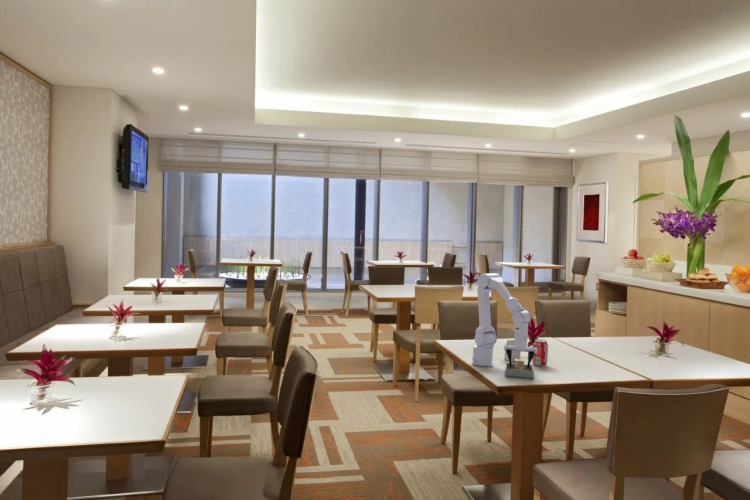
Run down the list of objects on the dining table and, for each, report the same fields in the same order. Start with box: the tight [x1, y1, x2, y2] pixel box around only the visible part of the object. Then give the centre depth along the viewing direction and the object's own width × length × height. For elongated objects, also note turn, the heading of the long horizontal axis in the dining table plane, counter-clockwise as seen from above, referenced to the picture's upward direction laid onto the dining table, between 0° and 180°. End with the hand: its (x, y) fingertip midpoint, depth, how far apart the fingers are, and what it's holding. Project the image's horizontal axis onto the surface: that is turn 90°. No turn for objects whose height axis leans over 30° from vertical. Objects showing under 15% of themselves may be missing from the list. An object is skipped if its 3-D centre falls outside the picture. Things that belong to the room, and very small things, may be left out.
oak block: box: [514, 358, 525, 370], centre depth 267 cm, size 4×4×6 cm
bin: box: [504, 362, 535, 380], centre depth 267 cm, size 12×12×4 cm
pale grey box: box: [504, 339, 522, 362], centre depth 297 cm, size 4×7×10 cm, turn 111°
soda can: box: [531, 339, 549, 367], centre depth 288 cm, size 7×7×12 cm
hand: (519, 367), depth 267 cm, fingers open, 7 cm apart
